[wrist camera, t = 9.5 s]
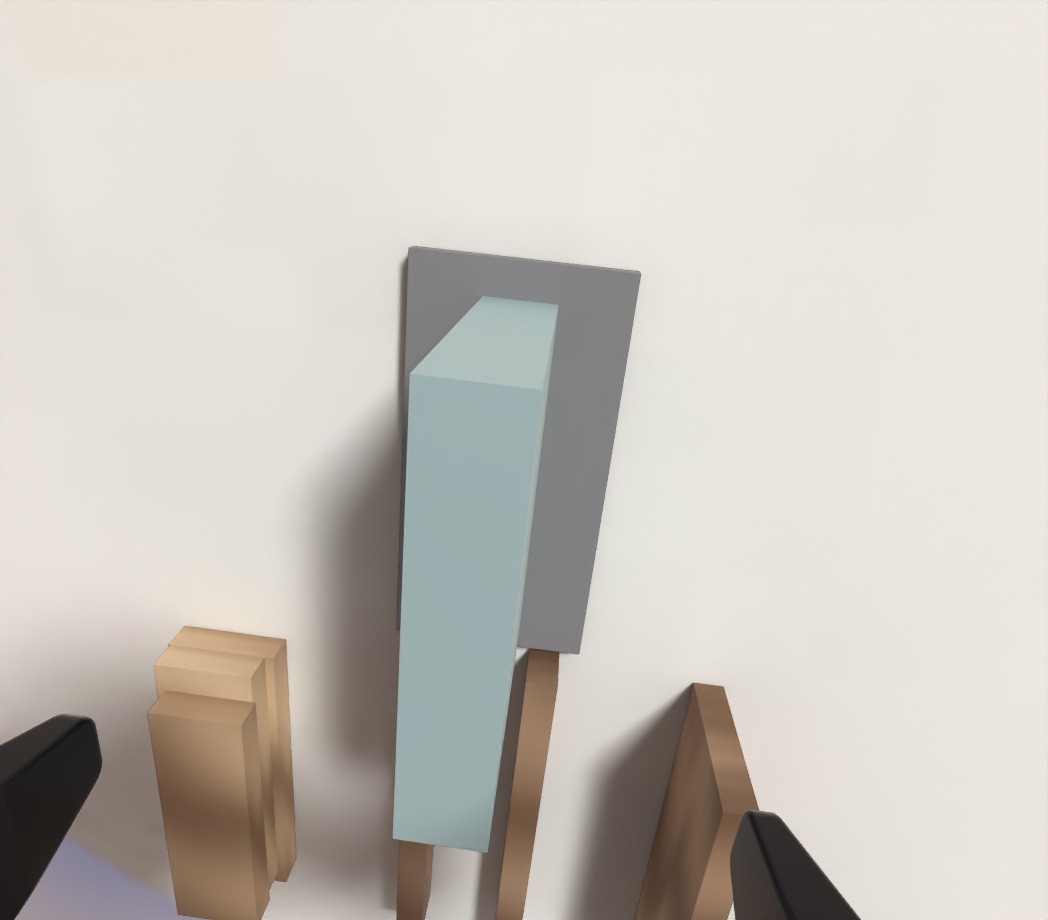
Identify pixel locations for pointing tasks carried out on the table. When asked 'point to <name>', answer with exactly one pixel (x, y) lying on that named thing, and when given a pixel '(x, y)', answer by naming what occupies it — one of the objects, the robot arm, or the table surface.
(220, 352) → the table surface
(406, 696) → the grey-green rectangular slab
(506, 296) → the rubber mat
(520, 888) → the walnut rack
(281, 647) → the offcut stack
